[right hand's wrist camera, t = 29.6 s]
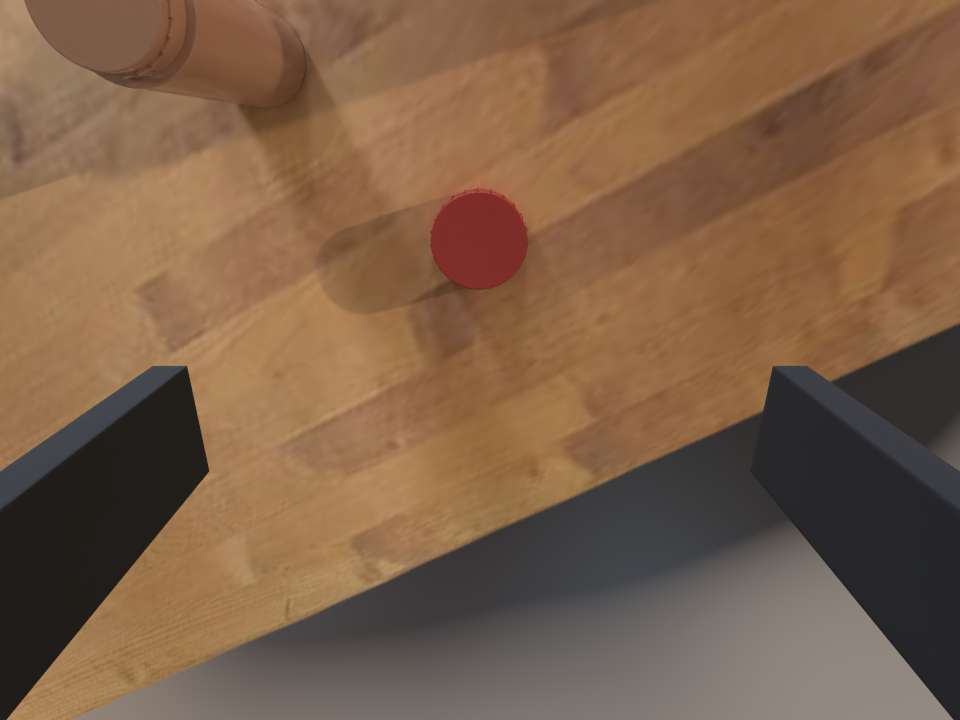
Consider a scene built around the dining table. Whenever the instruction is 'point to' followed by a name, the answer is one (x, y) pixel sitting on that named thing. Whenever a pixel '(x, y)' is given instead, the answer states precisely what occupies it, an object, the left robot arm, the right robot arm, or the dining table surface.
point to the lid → (479, 239)
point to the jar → (179, 46)
